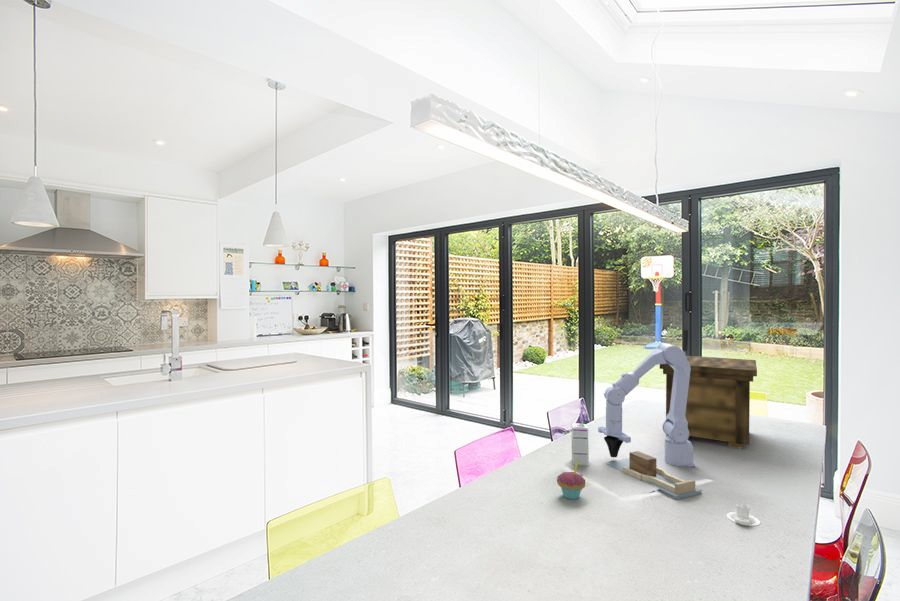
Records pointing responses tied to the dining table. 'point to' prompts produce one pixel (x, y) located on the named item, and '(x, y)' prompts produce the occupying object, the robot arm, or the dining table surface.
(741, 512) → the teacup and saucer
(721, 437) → the crate
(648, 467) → the brown prism
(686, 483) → the slide board
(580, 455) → the syrup box
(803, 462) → the dining table surface
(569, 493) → the cupcake
